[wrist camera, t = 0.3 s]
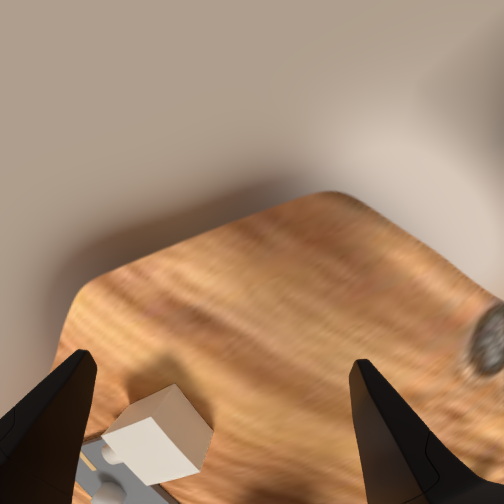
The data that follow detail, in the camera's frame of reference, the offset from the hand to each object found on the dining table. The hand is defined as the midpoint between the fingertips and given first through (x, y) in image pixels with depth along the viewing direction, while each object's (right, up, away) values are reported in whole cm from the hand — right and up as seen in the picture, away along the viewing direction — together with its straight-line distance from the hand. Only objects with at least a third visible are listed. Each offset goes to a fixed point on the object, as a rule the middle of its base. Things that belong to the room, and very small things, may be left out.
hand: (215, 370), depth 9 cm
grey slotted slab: (-15, -24, +16) cm, 33 cm away
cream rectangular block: (-8, -13, +15) cm, 22 cm away
